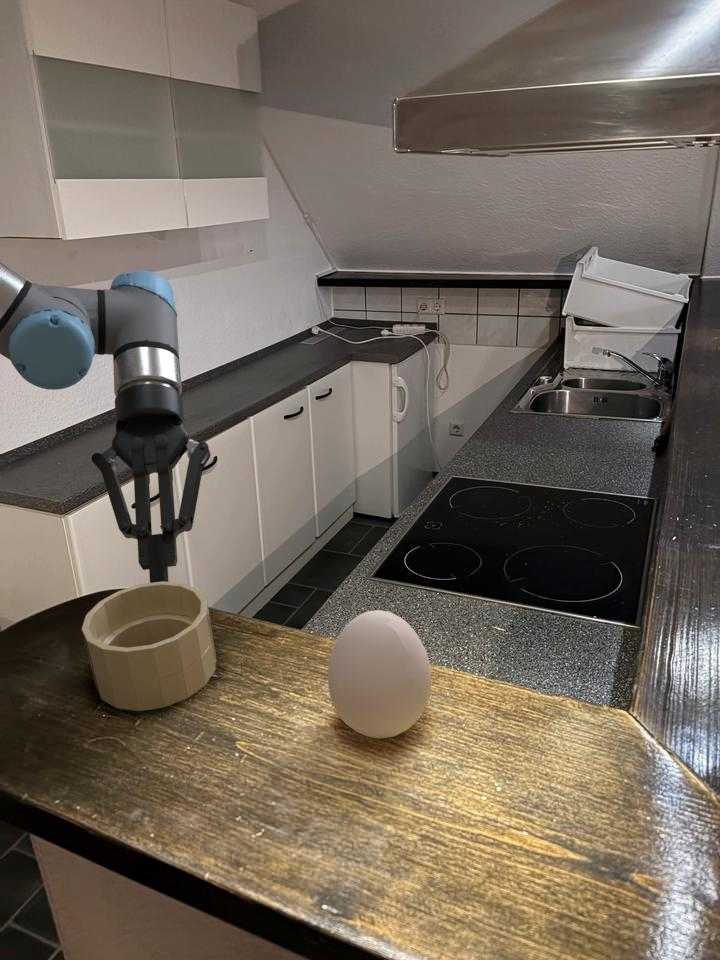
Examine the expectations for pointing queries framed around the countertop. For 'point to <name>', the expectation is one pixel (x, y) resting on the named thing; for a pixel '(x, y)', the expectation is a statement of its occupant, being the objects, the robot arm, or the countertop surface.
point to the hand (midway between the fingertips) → (160, 597)
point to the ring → (150, 645)
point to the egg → (379, 675)
